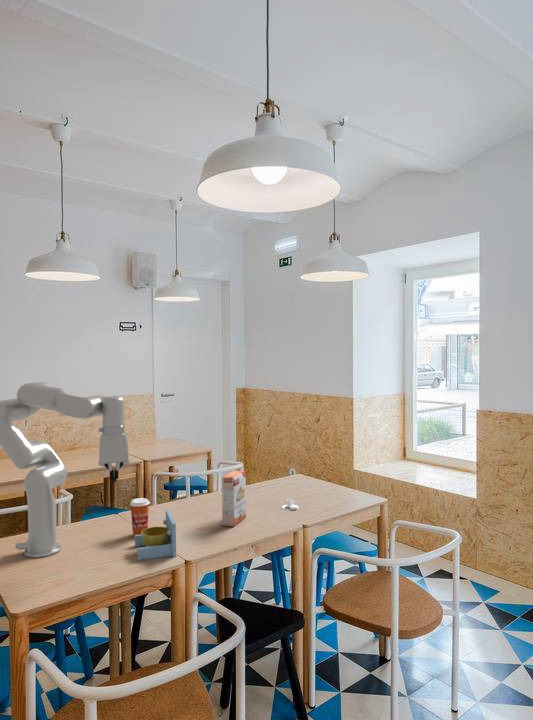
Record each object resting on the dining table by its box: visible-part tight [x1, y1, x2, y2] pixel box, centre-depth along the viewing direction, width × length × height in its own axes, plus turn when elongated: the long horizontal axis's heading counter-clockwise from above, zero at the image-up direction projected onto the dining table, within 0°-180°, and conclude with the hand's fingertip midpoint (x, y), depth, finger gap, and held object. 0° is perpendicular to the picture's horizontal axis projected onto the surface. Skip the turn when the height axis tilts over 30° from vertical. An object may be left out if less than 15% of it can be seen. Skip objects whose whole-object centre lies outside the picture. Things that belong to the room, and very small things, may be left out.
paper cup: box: [129, 497, 151, 538], centre depth 207 cm, size 8×8×14 cm
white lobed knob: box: [281, 498, 299, 511], centre depth 241 cm, size 9×8×4 cm
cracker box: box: [221, 469, 247, 527], centre depth 222 cm, size 14×6×21 cm, turn 161°
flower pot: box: [142, 526, 169, 547], centre depth 191 cm, size 10×10×7 cm
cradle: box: [134, 508, 177, 561], centre depth 190 cm, size 13×18×12 cm
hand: (114, 480), depth 186 cm, fingers closed
